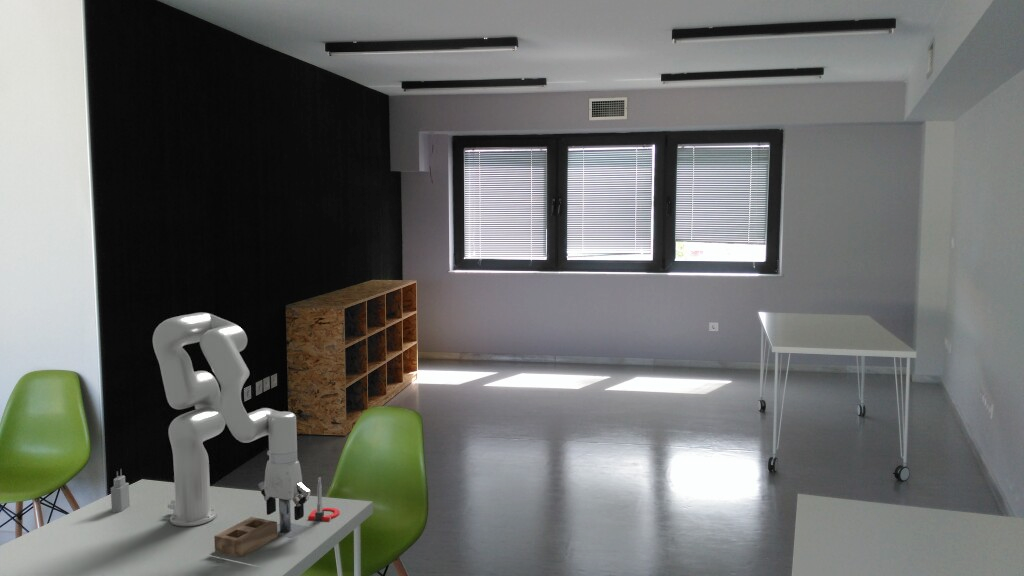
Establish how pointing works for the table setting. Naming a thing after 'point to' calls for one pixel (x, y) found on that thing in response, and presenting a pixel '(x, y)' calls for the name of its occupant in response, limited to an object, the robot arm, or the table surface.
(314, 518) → the tow hook
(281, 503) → the pin
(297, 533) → the mat
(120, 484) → the power adapter
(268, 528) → the block
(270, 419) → the robot arm
